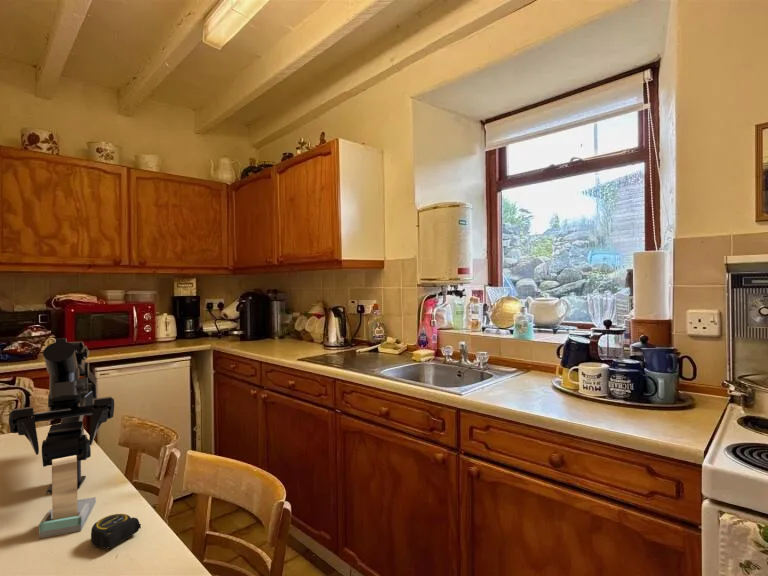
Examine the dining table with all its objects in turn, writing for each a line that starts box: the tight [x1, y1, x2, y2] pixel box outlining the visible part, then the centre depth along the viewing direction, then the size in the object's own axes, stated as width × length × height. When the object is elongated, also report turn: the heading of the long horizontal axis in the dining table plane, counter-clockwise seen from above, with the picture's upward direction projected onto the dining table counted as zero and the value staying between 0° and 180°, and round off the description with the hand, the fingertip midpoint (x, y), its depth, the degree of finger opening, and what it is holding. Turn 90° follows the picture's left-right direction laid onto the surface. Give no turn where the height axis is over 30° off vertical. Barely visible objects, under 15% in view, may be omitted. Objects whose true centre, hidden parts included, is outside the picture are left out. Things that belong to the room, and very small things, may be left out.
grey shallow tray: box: [38, 496, 97, 539], centre depth 90 cm, size 12×7×3 cm, turn 22°
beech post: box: [51, 455, 78, 520], centre depth 88 cm, size 4×4×12 cm
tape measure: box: [90, 513, 142, 549], centre depth 83 cm, size 7×7×4 cm
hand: (64, 448), depth 93 cm, fingers open, 9 cm apart
